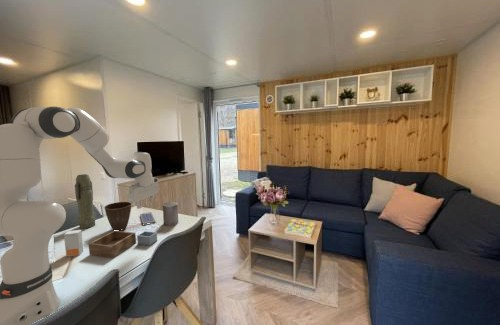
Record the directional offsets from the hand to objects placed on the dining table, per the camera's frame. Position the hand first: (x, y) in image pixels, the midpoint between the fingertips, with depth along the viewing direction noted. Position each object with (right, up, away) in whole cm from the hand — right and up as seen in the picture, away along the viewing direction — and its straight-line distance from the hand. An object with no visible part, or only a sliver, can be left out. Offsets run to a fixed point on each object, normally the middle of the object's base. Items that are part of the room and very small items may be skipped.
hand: (145, 205), depth 122 cm
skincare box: (-31, -23, -10) cm, 40 cm away
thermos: (-51, -19, +25) cm, 60 cm away
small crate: (0, -21, +3) cm, 22 cm away
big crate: (-15, -22, -4) cm, 27 cm away
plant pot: (-26, -20, +21) cm, 39 cm away
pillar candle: (+3, -18, +30) cm, 36 cm away
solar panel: (-16, -18, +38) cm, 45 cm away
